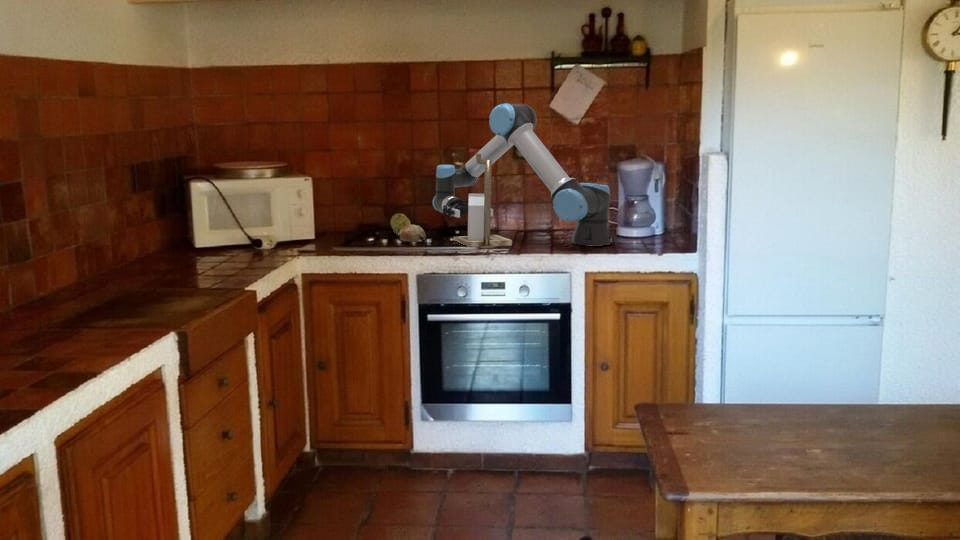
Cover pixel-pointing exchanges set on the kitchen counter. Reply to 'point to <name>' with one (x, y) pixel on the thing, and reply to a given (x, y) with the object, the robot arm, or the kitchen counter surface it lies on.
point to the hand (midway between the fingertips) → (475, 213)
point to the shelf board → (494, 240)
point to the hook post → (486, 201)
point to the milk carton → (476, 217)
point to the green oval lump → (399, 222)
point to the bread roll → (412, 234)
